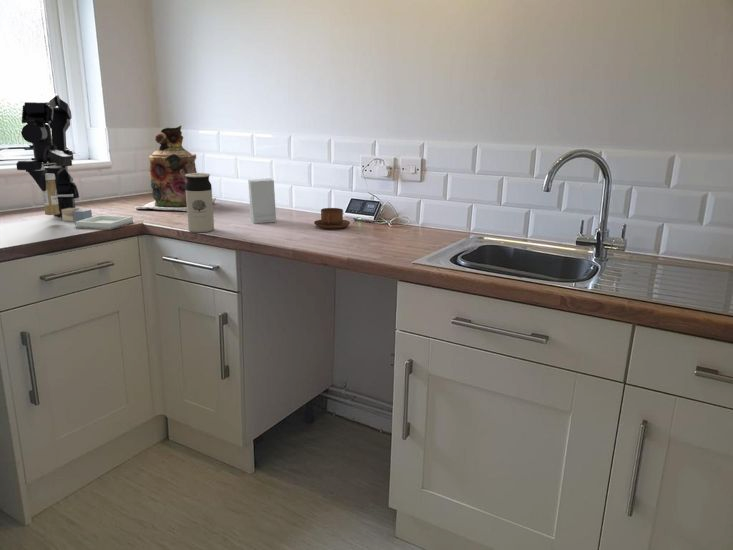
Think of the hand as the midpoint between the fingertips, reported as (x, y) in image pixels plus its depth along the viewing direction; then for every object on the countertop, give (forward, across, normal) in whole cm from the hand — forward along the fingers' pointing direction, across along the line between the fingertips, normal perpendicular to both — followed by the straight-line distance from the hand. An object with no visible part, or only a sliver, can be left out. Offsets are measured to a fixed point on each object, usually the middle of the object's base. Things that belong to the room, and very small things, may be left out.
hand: (49, 190), depth 187 cm
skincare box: (+12, +21, -66) cm, 70 cm away
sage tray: (+12, +3, -17) cm, 21 cm away
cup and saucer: (+12, +17, -92) cm, 94 cm away
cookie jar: (+12, +45, -21) cm, 51 cm away
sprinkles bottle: (+8, 0, 0) cm, 8 cm away
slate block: (+12, +7, -6) cm, 15 cm away
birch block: (+12, +9, 0) cm, 15 cm away
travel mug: (+12, +2, -52) cm, 53 cm away
